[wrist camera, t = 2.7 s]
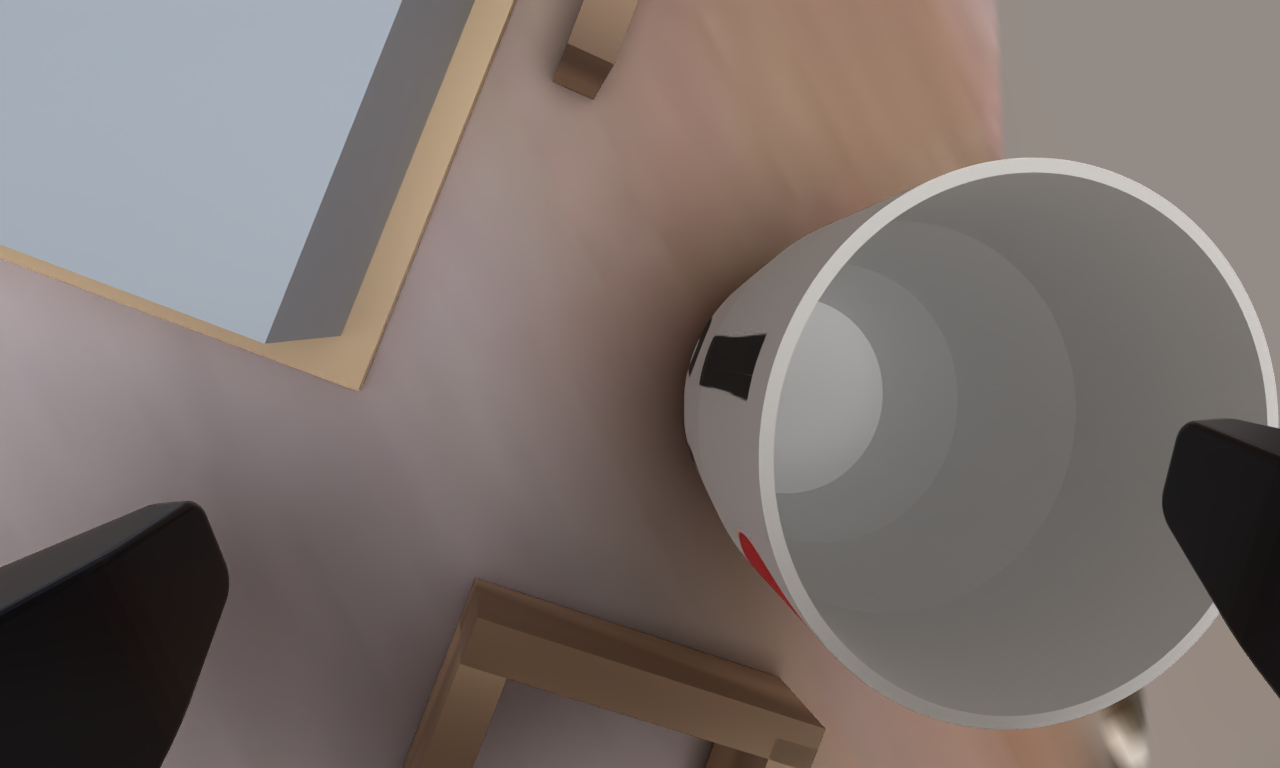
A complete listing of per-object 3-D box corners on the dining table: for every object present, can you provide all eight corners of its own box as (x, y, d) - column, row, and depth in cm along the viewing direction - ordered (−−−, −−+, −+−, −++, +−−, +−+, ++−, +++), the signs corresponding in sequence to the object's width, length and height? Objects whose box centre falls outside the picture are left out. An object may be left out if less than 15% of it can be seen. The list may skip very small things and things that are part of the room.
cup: (587, 279, 22) (689, 244, 12) (900, 191, 23) (1221, 95, 13) (679, 602, 23) (843, 812, 13) (975, 500, 24) (1326, 622, 14)
